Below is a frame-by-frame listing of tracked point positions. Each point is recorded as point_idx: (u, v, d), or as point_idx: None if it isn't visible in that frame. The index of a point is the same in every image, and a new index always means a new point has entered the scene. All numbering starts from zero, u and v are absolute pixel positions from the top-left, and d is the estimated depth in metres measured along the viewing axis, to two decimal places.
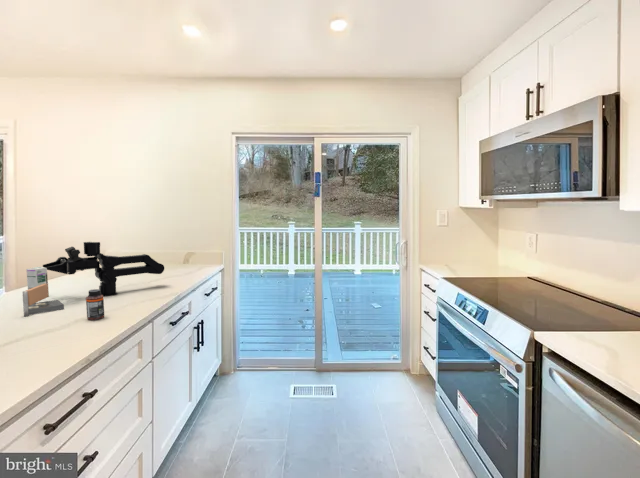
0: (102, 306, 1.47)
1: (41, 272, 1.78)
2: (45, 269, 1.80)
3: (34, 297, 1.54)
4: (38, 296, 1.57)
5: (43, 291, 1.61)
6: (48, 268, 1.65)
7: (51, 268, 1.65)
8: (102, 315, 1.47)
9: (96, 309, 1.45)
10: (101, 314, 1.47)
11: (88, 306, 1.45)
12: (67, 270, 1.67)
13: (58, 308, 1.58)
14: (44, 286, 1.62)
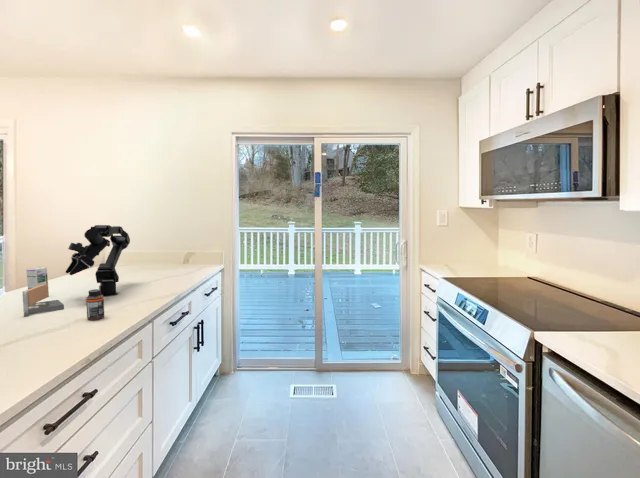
0: (102, 306, 1.47)
1: (41, 272, 1.78)
2: (45, 269, 1.80)
3: (34, 297, 1.54)
4: (38, 296, 1.57)
5: (43, 291, 1.61)
6: (71, 273, 1.65)
7: (73, 272, 1.66)
8: (102, 315, 1.47)
9: (96, 309, 1.45)
10: (101, 314, 1.47)
11: (88, 306, 1.45)
12: (86, 265, 1.67)
13: (58, 308, 1.58)
14: (44, 286, 1.62)
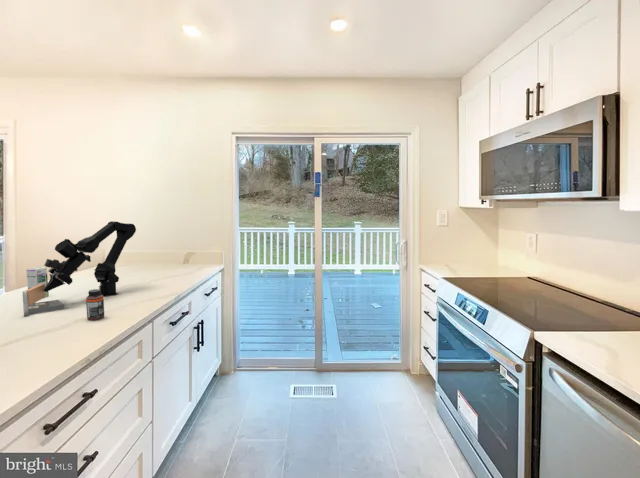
0: (102, 306, 1.47)
1: (41, 272, 1.78)
2: (45, 269, 1.80)
3: (33, 297, 1.54)
4: (37, 297, 1.57)
5: (41, 291, 1.61)
6: (45, 290, 1.62)
7: (48, 288, 1.63)
8: (102, 315, 1.47)
9: (96, 309, 1.45)
10: (101, 314, 1.47)
11: (88, 306, 1.45)
12: (62, 281, 1.64)
13: (58, 308, 1.58)
14: (42, 286, 1.62)
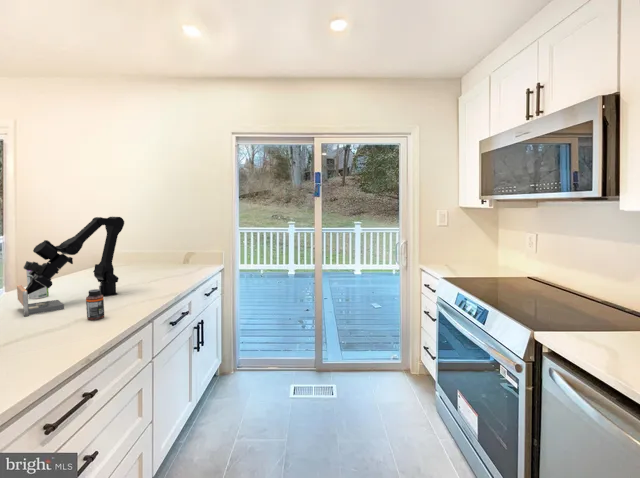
0: (102, 306, 1.47)
1: None
2: None
3: None
4: None
5: None
6: None
7: None
8: (102, 315, 1.47)
9: (96, 309, 1.45)
10: (101, 314, 1.47)
11: (88, 306, 1.45)
12: (42, 284, 1.59)
13: (58, 308, 1.58)
14: None
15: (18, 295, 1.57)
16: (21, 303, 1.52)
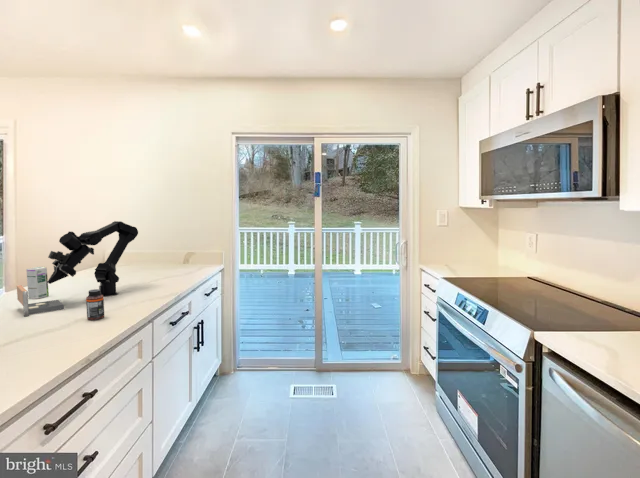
0: (102, 306, 1.47)
1: (41, 272, 1.78)
2: (45, 269, 1.80)
3: None
4: None
5: None
6: (49, 282, 1.63)
7: (52, 280, 1.63)
8: (102, 315, 1.47)
9: (96, 309, 1.45)
10: (101, 314, 1.47)
11: (88, 306, 1.45)
12: (65, 273, 1.64)
13: (58, 308, 1.58)
14: None
15: (18, 295, 1.57)
16: (21, 303, 1.52)
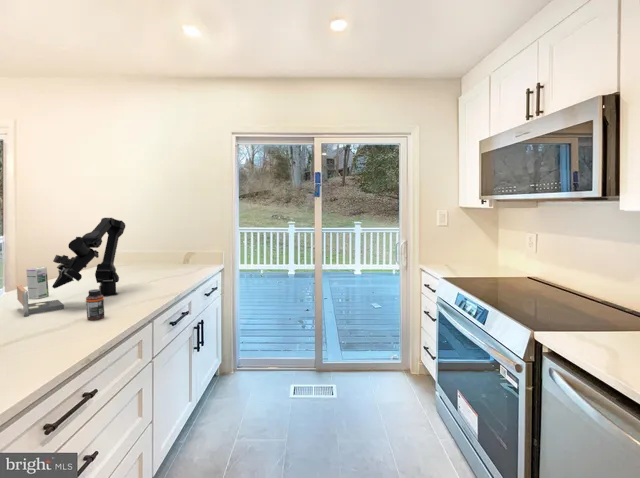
0: (102, 306, 1.47)
1: (41, 272, 1.78)
2: (45, 269, 1.80)
3: None
4: None
5: None
6: (54, 287, 1.59)
7: (57, 285, 1.59)
8: (102, 315, 1.47)
9: (96, 309, 1.45)
10: (101, 314, 1.47)
11: (88, 306, 1.45)
12: (71, 277, 1.60)
13: (58, 308, 1.58)
14: None
15: (18, 295, 1.57)
16: (21, 303, 1.52)
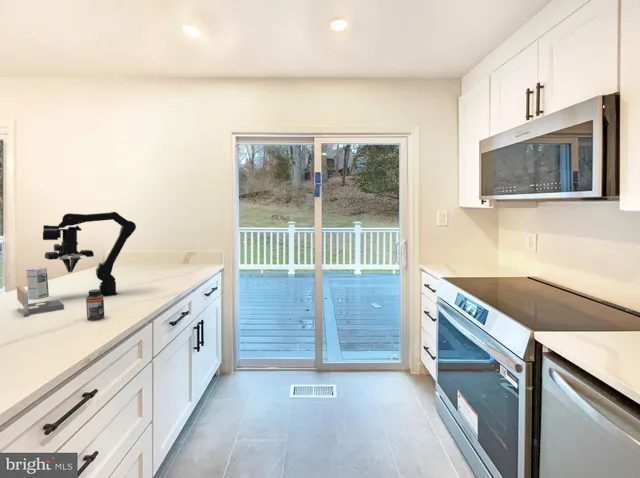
0: (102, 306, 1.47)
1: (41, 272, 1.78)
2: (45, 269, 1.80)
3: None
4: None
5: None
6: (68, 271, 1.77)
7: (67, 269, 1.77)
8: (102, 315, 1.47)
9: (96, 309, 1.45)
10: (101, 314, 1.47)
11: (88, 306, 1.45)
12: (61, 258, 1.73)
13: (58, 308, 1.58)
14: None
15: (18, 295, 1.57)
16: (21, 303, 1.52)
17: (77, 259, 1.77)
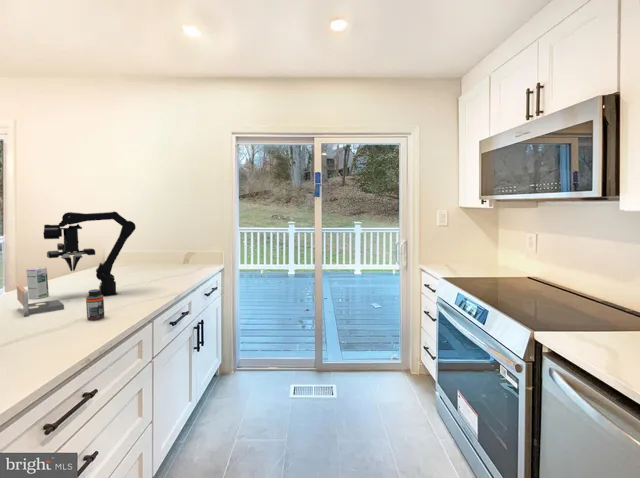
0: (102, 306, 1.47)
1: (41, 272, 1.78)
2: (45, 269, 1.80)
3: None
4: None
5: None
6: (71, 270, 1.78)
7: None
8: (102, 315, 1.47)
9: (96, 309, 1.45)
10: (101, 314, 1.47)
11: (88, 306, 1.45)
12: (62, 257, 1.75)
13: (58, 308, 1.58)
14: None
15: (18, 295, 1.57)
16: (21, 303, 1.52)
17: (78, 257, 1.78)
